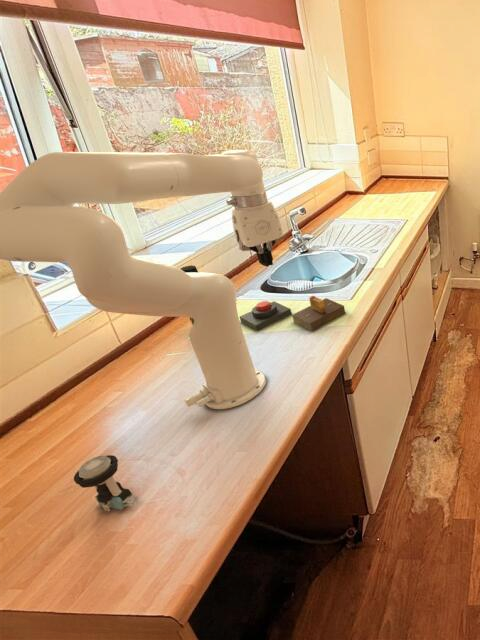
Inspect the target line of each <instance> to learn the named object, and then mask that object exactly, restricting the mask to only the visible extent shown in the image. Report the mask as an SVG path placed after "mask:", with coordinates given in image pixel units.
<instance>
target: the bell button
mask: <svg viewBox="0 0 480 640" xmlns="http://www.w3.org/2000/svg"><path fill="white" fill-rule="evenodd" d="M270 303H271V301H268V300H264V301H261V302H260V301H259V302H258V303H257V304H256V305H255V306H257V310H258V311H266V310H268V309H270V308H271V306H270Z"/></svg>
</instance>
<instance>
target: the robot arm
mask: <svg viewBox="0 0 480 640" xmlns="http://www.w3.org/2000/svg"><path fill="white" fill-rule="evenodd" d="M263 177H264V174H263V169H262V166H261V164H260V163H259V159H258V156H257V154H256V153H255V152H254V151H253V150H250V149H232V150H225V151H223V152H222V153H217V154H192V153H181V152H125V151H123V152H117V151H115V152H112V151H111V152H110V151H109V152H108V151H106V152H105V151H104V152H103V151H102V152H101V151H95V152H94V151H53V152H49V153H46V154H43V155H41V156H40V157H38V158H37V159H35V160H34V161H32V162H31V163H30V164H29V165H27V166H26V167H25V168H24V169H23V170H21V172H19V173H18V174H17V175H16V176H15V177H14V178H13V179H12V180H11V181H10V182H9V183H8V185H6V187H4V189H2V191H0V260H4V261H8V262H18V263H19V262H21V263H22V262H23V263H66V264H68V266H69V268H70V269H71V272H72V277H73V280H74V282H75V285H76V288H77V290H78V292H79V293H80V295H81V296H82V297H84V298H85V299H86V301H87V302H88V303H89V304H90V305H91V306H93V308H96V309H97V310H99V311H103V312H106V313H114V314H122V315H123V314H124V315H135V316H145V317H167V318H168V317H170V318H171V317H172V318H173V317H177V318H178V317H179V318H189V317H191V318H193V319H194V324H193V325H192V326H191V328H190V329H189V330H190V331H189V341H190V343H191V347H192V348H193V351H194V354H195V356H196V360H197V361H198V364H199V367H200V369H201V372H202V374H203V378H204V379H205V382H203V383H202V387H203V388H201V389H199V392H197V393H195V394H192V395H191V396H189V397H187V398H185V399H184V403H185V405H186V406H187V407H188V408H190V407H192V406H194V405H197V406H198V407H199V408H201V407H202V406H204V405H205V406H207V407H208V408H210V409H215V410H225V409H226V410H227V409H231V408H234V407H238V406H240V405H243V404H245V403H248V402H249V401H251V400H253V399H254V398H255V397H257V395H259V394H260V393H261V392H262V390H263V389H264V388H265V385H266V383H267V379H266V376H265V374H264V373H263V372H262V371H259V370H257V369H255V366H254V363H253V359H252V357H251V354H250V350H249V347H248V344H247V341H246V338H245V335H244V331H243V328H242V323H241V320H240V316H239V313H238V308H237V291H236V287H235V285H234V282H233V281H232V280H231V279H230V278H229V277H227V276H226V275H223V274H219V273H214V272H198V273H185V272H184V271H183V270H181V269H180V268H179V267H176V266H174V265H172V264H167V263H161V262H156V261H153V260H148V259H144V258H140V257H138V256H133V255H132V254H130V252H129V250H128V249H129V248H128V245H127V242H126V238H125V234H124V231H123V229H122V228H121V226H120V225H119V223H118V222H117V221H116V220H115V219H114V218H113V217H112V216H109V215H108V214H107V213H104V212H102V211H99V210H97V209H94V208H90V207H85V206H84V207H83V206H75V204H84V205H87V204H89V205H120V204H129V203H138V202H145V201H152V200H153V201H154V200H161V199H169V198H171V199H172V198H179V197H180V198H181V197H194V196H202V195H203V196H204V195H211V194H221V193H229V194H230V198H229V199H227V200H226V204H227V206H233V207H231V220H232V227H233V233H234V236H235V240H236V242H237V243H238V249H239V250H240V251H242V252H250V251H252V252H254V253H256V256H257V260H258V263H259V264H260V265H261V266H264V267H267V268H268V267H270V266H273V265H274V262H273V261H274V258H273V254H272V252H273V249H274V248H273V247H274V246H275V244H276V243H277V242H279V241H280V240H282V239H283V236H284V233H283V232H284V231H283V228H282V227H283V226H282V224H281V221H280V217H279V215H278V213H277V211H276V208H275V207H274V204H273V203H272V201H269V200H268V197H267V191H266V187H265V184H264V180H263Z"/></svg>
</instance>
